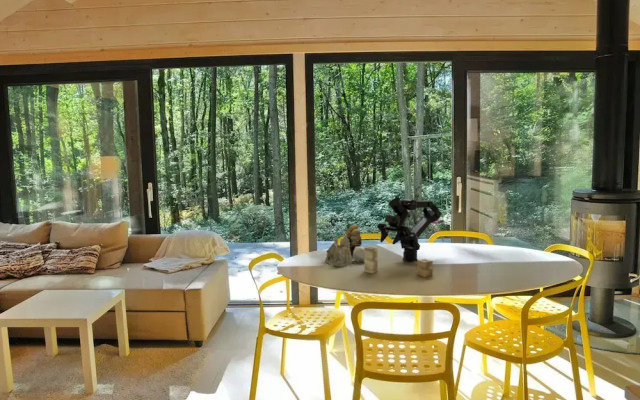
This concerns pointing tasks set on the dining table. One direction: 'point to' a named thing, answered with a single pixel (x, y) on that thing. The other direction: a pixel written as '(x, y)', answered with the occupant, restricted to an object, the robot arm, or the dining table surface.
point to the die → (359, 254)
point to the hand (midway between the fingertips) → (386, 242)
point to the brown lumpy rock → (354, 238)
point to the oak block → (424, 267)
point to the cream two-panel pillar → (371, 259)
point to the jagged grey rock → (339, 253)
